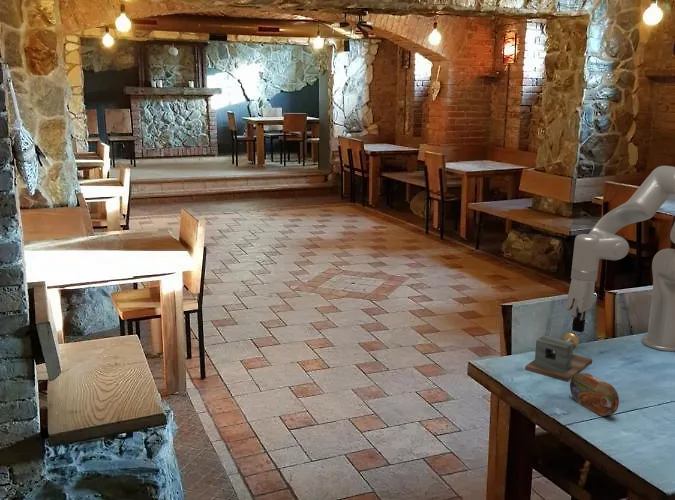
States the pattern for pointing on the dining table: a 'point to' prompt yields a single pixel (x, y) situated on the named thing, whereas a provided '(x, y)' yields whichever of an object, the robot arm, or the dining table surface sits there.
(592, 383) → the tin
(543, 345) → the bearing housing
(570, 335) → the shaft
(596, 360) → the dining table surface
